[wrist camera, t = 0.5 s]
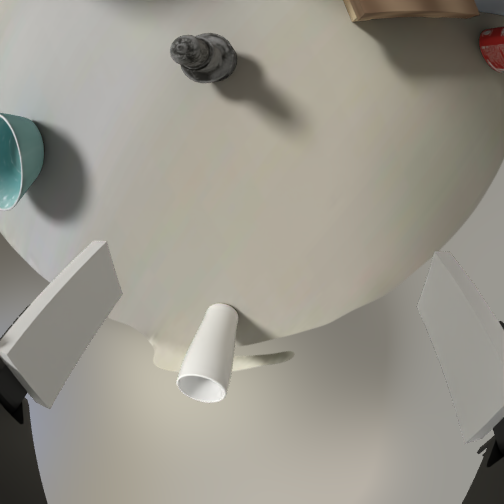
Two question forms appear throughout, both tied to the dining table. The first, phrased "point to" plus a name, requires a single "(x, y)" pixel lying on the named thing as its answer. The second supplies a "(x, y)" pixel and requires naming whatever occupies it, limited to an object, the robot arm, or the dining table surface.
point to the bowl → (18, 158)
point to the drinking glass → (210, 356)
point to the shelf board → (414, 8)
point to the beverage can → (493, 47)
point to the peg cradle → (490, 6)
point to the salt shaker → (204, 57)
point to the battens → (352, 13)
